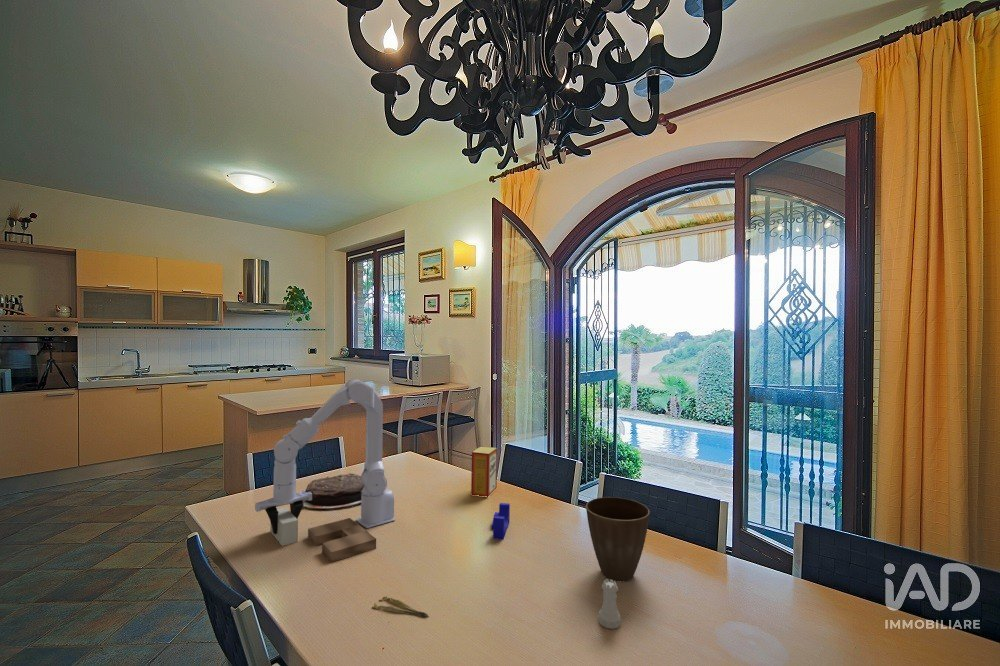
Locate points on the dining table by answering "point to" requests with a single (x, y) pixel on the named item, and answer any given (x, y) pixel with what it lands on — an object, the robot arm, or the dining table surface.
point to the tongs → (401, 604)
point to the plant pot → (617, 535)
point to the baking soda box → (484, 471)
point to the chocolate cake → (334, 492)
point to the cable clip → (501, 521)
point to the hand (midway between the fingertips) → (283, 530)
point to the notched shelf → (341, 539)
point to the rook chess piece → (609, 606)
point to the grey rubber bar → (286, 527)
